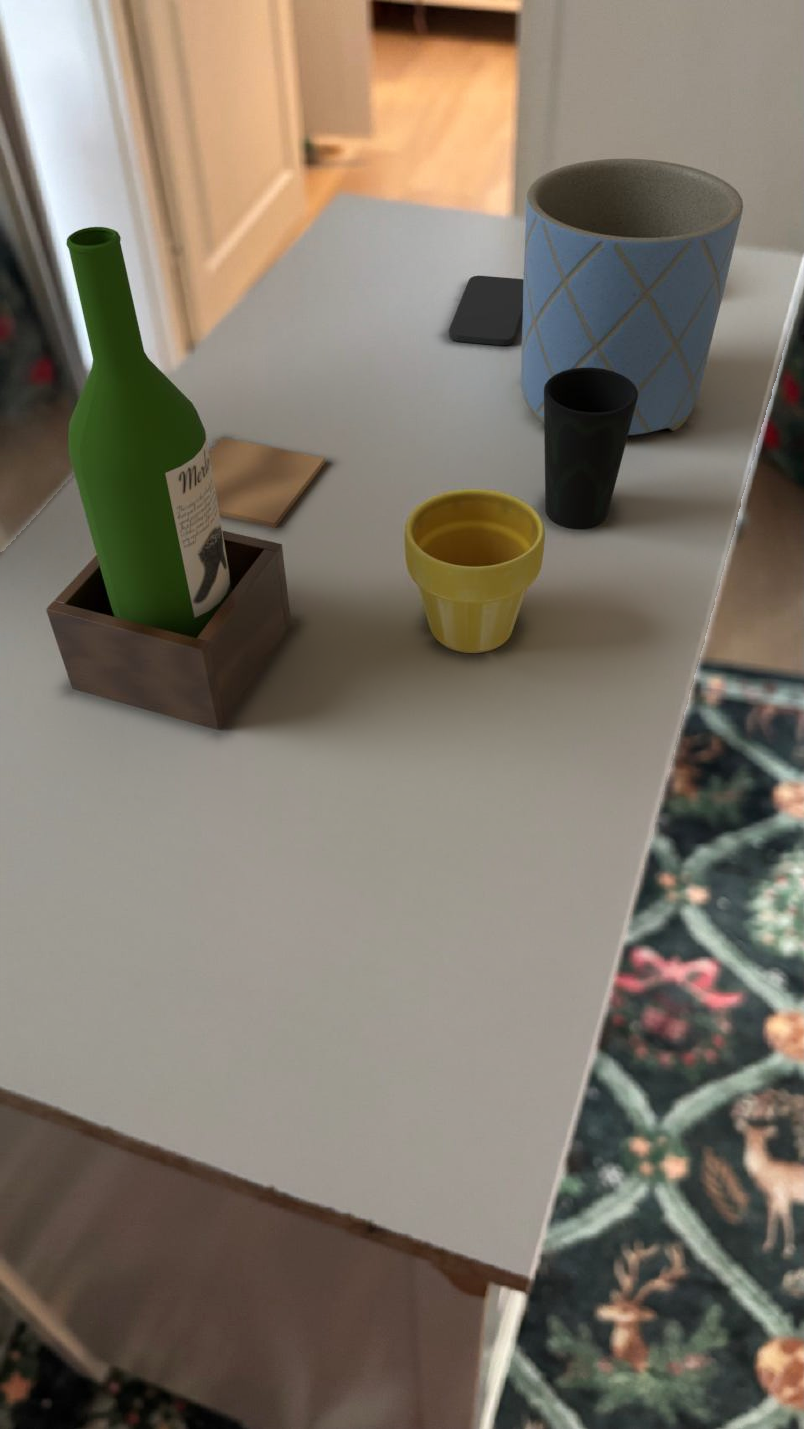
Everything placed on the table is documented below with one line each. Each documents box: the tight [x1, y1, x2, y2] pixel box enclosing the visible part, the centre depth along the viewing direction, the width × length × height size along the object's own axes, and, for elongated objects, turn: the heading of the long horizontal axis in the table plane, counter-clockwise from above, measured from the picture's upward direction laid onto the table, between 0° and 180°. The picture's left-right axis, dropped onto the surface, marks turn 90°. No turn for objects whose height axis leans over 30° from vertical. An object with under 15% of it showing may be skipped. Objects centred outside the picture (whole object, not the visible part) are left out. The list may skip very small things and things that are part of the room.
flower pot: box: [404, 488, 546, 654], centre depth 83 cm, size 10×10×10 cm
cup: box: [543, 368, 638, 530], centre depth 93 cm, size 8×8×12 cm
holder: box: [45, 530, 292, 731], centre depth 82 cm, size 13×13×8 cm
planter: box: [520, 158, 744, 436], centre depth 103 cm, size 19×19×20 cm
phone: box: [448, 275, 524, 346], centre depth 124 cm, size 7×1×15 cm
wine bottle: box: [66, 226, 232, 638], centre depth 73 cm, size 9×9×32 cm
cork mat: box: [209, 437, 326, 528], centre depth 101 cm, size 11×11×1 cm
